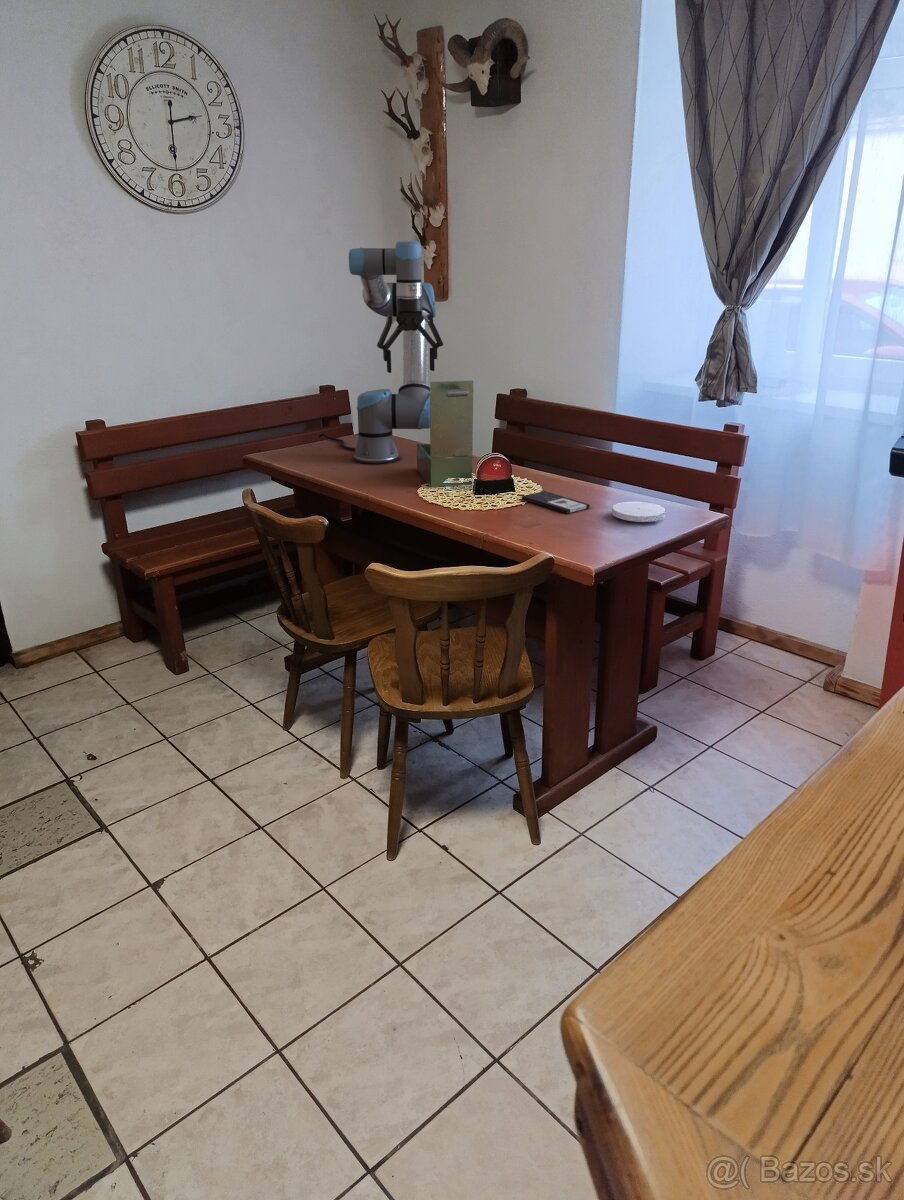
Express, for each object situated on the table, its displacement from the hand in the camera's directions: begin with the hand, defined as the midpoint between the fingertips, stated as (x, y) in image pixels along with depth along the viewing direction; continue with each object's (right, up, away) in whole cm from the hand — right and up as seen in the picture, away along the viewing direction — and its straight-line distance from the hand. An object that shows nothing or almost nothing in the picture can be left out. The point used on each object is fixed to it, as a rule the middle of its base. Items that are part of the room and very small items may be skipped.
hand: (410, 371), depth 250 cm
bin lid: (+12, -17, -8) cm, 22 cm away
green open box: (+10, -31, +9) cm, 34 cm away
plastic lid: (+63, -48, -31) cm, 85 cm away
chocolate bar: (+42, -43, -19) cm, 63 cm away
